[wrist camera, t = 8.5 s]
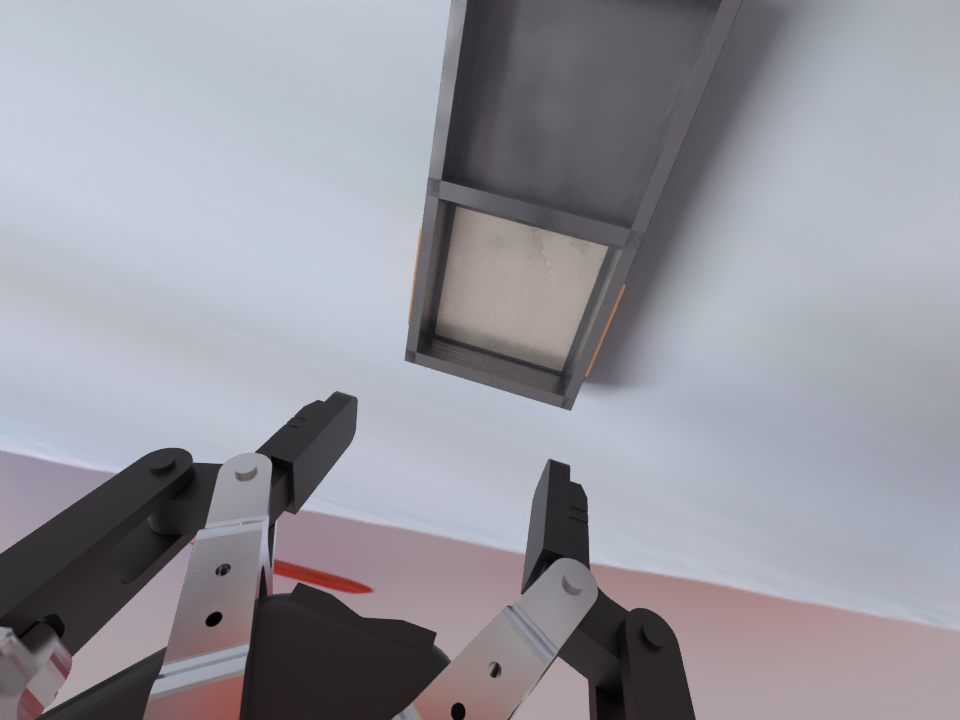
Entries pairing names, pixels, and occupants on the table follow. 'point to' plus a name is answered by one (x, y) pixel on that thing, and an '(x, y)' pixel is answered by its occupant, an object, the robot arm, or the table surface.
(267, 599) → the robot arm
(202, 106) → the table surface
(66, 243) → the table surface
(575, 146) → the tray
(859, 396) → the table surface
